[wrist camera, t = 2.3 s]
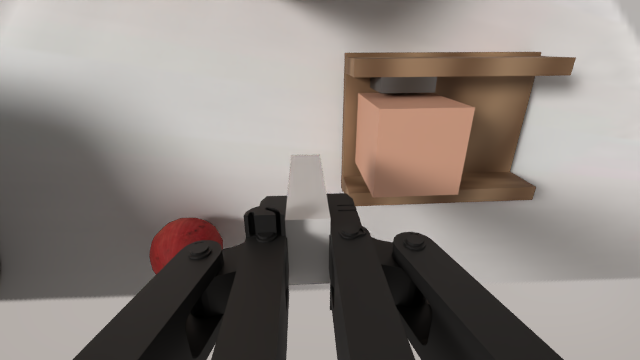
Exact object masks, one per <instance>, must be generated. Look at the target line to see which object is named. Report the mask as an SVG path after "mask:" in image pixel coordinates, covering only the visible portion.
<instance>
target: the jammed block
mask: <svg viewBox="0 0 640 360" xmlns="http://www.w3.org/2000/svg"><path fill="white" fill-rule="evenodd" d="M474 111H475V107H472V106H469V105H466V104H463V103H460V102H458V101H455V100H452V99H449V98H446V97H443V96H440V95H437V94H434V93H358V110H357V132H356V154H355V163H356V165H357V167H358V169H359V171H360V173H361V175H362V177H363V179H364V181H365V183H366V185H367V187H368V189H369V191H370V193H371V195H372V197H373V198H375V197H404V196H433V195H458V192H459V187H460V182H461V177H462V172H463V167H464V162H465V157H466V152H467V146H468V141H469V136H470V131H471V126H472V121H473V116H474Z"/></svg>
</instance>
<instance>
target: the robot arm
mask: <svg viewBox="0 0 640 360" xmlns="http://www.w3.org/2000/svg"><path fill="white" fill-rule="evenodd" d="M244 223H245V232H246V239H245V242H244V243H242V244H240V245H238V246H235V247H231V248H227V249H223V250H222V247H221V245H220V244H219V243H218V242H216V241H212V240H200V241H196V242H193V243H191V244H189V245H187V246H185V247H184V248H183V249H181V250H180V251H179V252H178V253H177V254H176V255H175V256H174V257H173V258H172V259H171V260H170V261H169V262H168V263H167V264H166V265H165V266H164V267H163V268H162V269H161V270H160V271H159V272H158V273H157V274H156V275H155V277H154V278H153V279H152V280H151V281H150V282H149V283H148V284H147V285H146V286H145V287H144V288H143V289H142V290H141V291H140V292H139V293H138V294H137V295H136V296H135V297H134V298H133V299H132V300H131V301H130V302H129V303H128V304H127V305H126V306H125V307H124V308H123V309H122V310H121V311H120V312H119V313H118V314H117V315H116V316H115V317H114V318H113V319H112V320H111V321H110V322H109V323H108V324H107V325H106V326H105V327H104V328H103V329H102V330H101V331H100V332H99V333H98V334H97V335H96V336H95V337H94V338H93V340H92V341H90V342H89V343H88V344H87V345H86V347H85V348H84V349H83V350H82V351H81V352H80V353H79V354H78V355H77V356H76V357H75V358H74V359H73V360H206V359H207V358H208V356H209V354H210V352H211V351H212V349H213V347H214V345H215V343H216V345H215V348H214V352H213V355H212V359H211V360H286V351H287V328H288V307H289V286H288V283H289V285H300V284H324V283H330V310H332V313H333V323H334V332H335V341H336V350H337V359H338V360H415V358H414V355H413V352H412V350H411V347H410V344H409V341H410V343H411V345H412V346H413V348H414V349H415V351H416V352H417V354H418V355H419V357H420V358H421V360H564V359H562V358H561V357H560V356H559V355H558V354H557V353H556V352H555V351H554V350H552V349H551V348H550V347H549V346H548V345H547V344H546V343H545V342H544V341H543V340H542V339H540V338H539V337H538V336H537V335H536V334H535V333H534V332H533V331H532V330H531V329H529V328H528V327H527V326H526V325H525V324H524V323H523V322H522V321H521V320H520V319H518V318H517V317H516V316H515V315H514V314H513V313H512V312H511V311H510V310H509V309H507V308H506V307H505V306H504V305H503V304H502V303H501V302H500V301H499V300H497V299H496V298H495V297H494V296H493V295H492V294H491V293H490V292H489V291H488V290H486V289H485V288H484V287H483V286H482V285H481V284H480V283H479V282H478V281H477V280H476V279H474V278H473V277H472V276H471V275H470V274H469V273H468V272H467V271H466V270H464V269H463V268H462V267H461V266H460V265H459V264H458V263H457V262H456V261H455V260H453V259H452V258H451V257H450V256H449V255H448V254H447V253H446V252H445V251H444V250H442V249H441V248H440V247H439V246H438V245H437V244H436V243H435V242H434V241H433V240H431V239H430V238H428V237H427V236H425V235H422V234H419V233H414V232H403V233H400V234H398V235H396V236H395V237H394V241H393V242H387V241H381V240H377V239H375V238H372V237H371V236H370V233H369V231H368V230H367V229H366V228H365V227H363V226H362V225H361V222H360V219H359V216H358V213H357V211H356V207H355V204H354V201H353V198H351V197H350V196H349V195H348V194H346V193H341V194H326V189H325V183H324V177H323V171H322V165H321V159H320V155H291V163H290V173H289V184H288V194H287V196H267V197H266V198H264V199H263V200H262V201H261V203H260V206H258V207H255V208H252V209H250V210H249V211H247V212H246V213H245V215H244ZM408 340H409V341H408Z"/></svg>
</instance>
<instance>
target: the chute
mask: <svg viewBox="0 0 640 360" xmlns="http://www.w3.org/2000/svg"><path fill="white" fill-rule="evenodd" d="M575 59H576V58H572V57H547V56H541V52H427V53H345V67H344V103H343V140H342V176H341V188H342V191H344V193H346V194H348V195H349V196H350V197H351V198H353V201H354V204H355V206H373V205H400V204H428V203H455V202H482V201H510V200H532V199H533V196H534V192H535V189H536V187H535V186H533V185H532V184H530V183H528V182H527V181H525V180H523V179H521V178H520V177H518V176H516V175H515V174H513V173H511V172H510V169H511V165H512V162H513V158H514V154H515V150H516V146H517V143H518V139H519V135H520V131H521V127H522V124H523V120H524V116H525V112H526V109H527V105H528V101H529V97H530V93H531V90H532V86H533V82H534V78H535V76H554V75H571V72H572V69H573V66H574V62H575ZM358 93H434V94H437V95H440V96H443V97H446V98H449V99H452V100H455V101H458V102H460V103H463V104H466V105H469V106H472V107H475V111H474V116H473V121H472V126H471V131H470V136H469V141H468V146H467V152H466V157H465V162H464V167H463V172H462V177H461V182H460V187H459V192H458V195H433V196H404V197H375V198H373V197H372V195H371V193H370V191H369V189H368V187H367V185H366V183H365V181H364V179H363V177H362V175H361V173H360V171H359V169H358V167H357V165H356V163H355V154H356V132H357V110H358Z"/></svg>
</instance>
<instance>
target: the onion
mask: <svg viewBox="0 0 640 360" xmlns="http://www.w3.org/2000/svg"><path fill="white" fill-rule="evenodd" d="M200 240H212V241H216V242H218V243H219V244H220V245H221V247H222V250H223V240H222V238H221V236H220V234H219V233H218V231H217V229H216V227H215V226H213V225H212V224H210V223H209V222H207V221H206V220H202V219H198V218H180V219H177V220H175V221H172V222H170V223H168V224H167V225H166V226H165V227H163V228H162V229H161V230H160V231H159V232H158V233H157V234H156V235H155V237H154V239H153V241H152V244H151V248H150V261H151V265H152V269H153V271H154V272H155V274H157V273H158V272H159V271H160V270H161V269H162V268H163V267H164V266H165V265H166V264H167V263H168V262H169V261H170V260H171V259H172V258H173V257H174V256H175V255H176V254H177V253H178V252H179V251H180V250H181V249H183V248H184V247H185V246H187V245H189V244H191V243H193V242H196V241H200Z"/></svg>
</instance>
